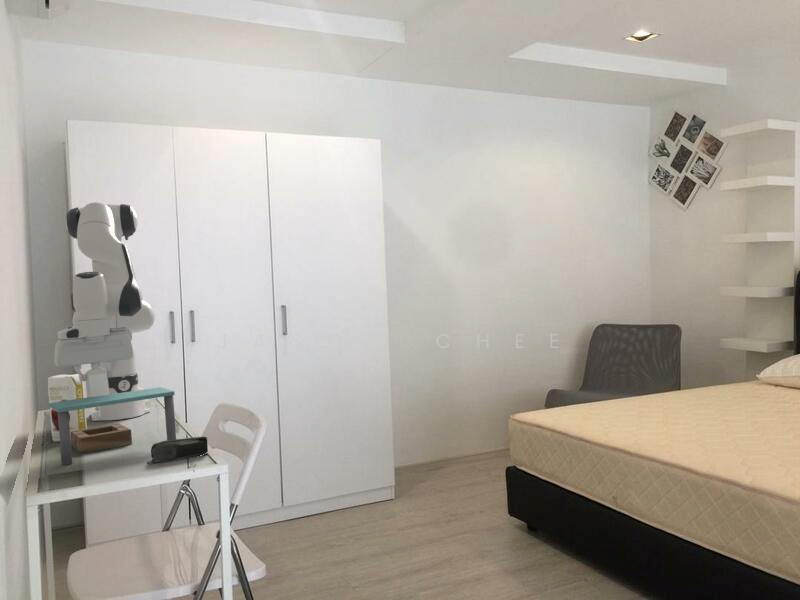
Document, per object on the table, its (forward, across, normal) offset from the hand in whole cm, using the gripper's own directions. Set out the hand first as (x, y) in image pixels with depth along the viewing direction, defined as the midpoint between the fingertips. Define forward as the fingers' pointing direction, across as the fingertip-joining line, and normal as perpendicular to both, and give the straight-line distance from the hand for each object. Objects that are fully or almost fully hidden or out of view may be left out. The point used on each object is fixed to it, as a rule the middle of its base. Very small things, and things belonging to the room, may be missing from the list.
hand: (96, 379), depth 193 cm
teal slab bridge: (+19, -1, +11) cm, 22 cm away
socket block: (+18, 0, 0) cm, 19 cm away
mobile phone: (+19, -10, +34) cm, 40 cm away
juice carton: (+19, +5, -16) cm, 25 cm away
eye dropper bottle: (+6, 0, 0) cm, 6 cm away
